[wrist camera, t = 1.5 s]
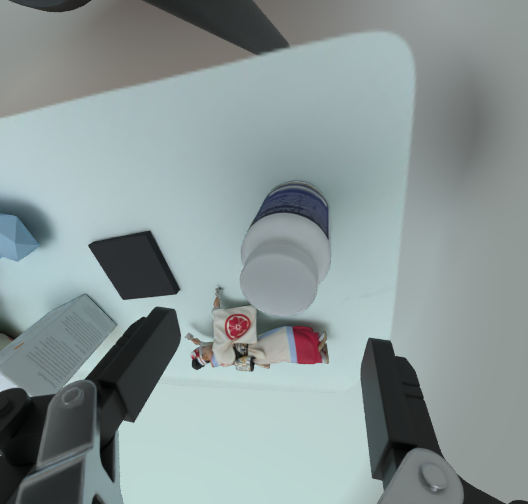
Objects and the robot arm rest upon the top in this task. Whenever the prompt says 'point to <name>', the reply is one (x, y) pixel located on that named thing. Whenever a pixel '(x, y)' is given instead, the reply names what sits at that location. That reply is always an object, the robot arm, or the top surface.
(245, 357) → the figurine
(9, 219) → the polygonal blue rock
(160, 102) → the top surface
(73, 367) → the small box
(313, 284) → the pill bottle
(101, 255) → the pad
